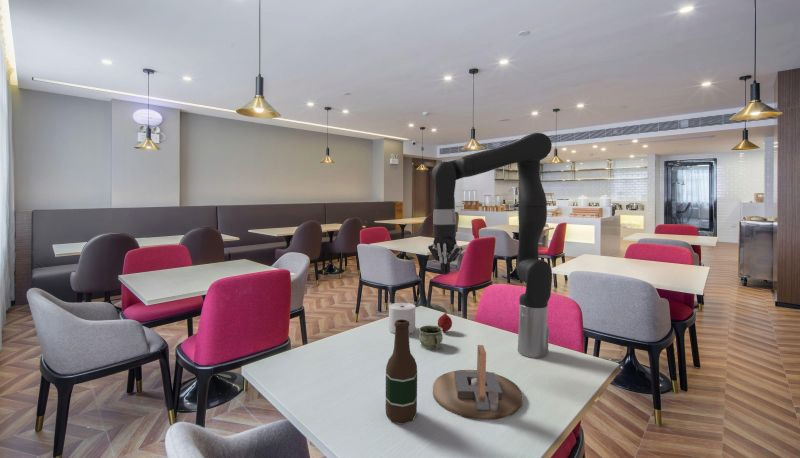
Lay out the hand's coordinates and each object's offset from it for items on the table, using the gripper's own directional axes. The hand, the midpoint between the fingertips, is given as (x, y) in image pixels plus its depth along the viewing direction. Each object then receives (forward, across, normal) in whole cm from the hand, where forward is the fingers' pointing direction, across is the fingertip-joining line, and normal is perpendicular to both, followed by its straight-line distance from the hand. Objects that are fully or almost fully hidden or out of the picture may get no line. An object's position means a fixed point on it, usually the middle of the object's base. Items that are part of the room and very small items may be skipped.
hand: (445, 274), depth 129 cm
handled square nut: (+27, +23, -18) cm, 40 cm away
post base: (+29, +21, -16) cm, 39 cm away
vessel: (+28, -10, +3) cm, 30 cm away
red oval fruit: (+28, -14, +18) cm, 36 cm away
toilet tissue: (+28, -28, +8) cm, 41 cm away
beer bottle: (+28, +12, -38) cm, 49 cm away
